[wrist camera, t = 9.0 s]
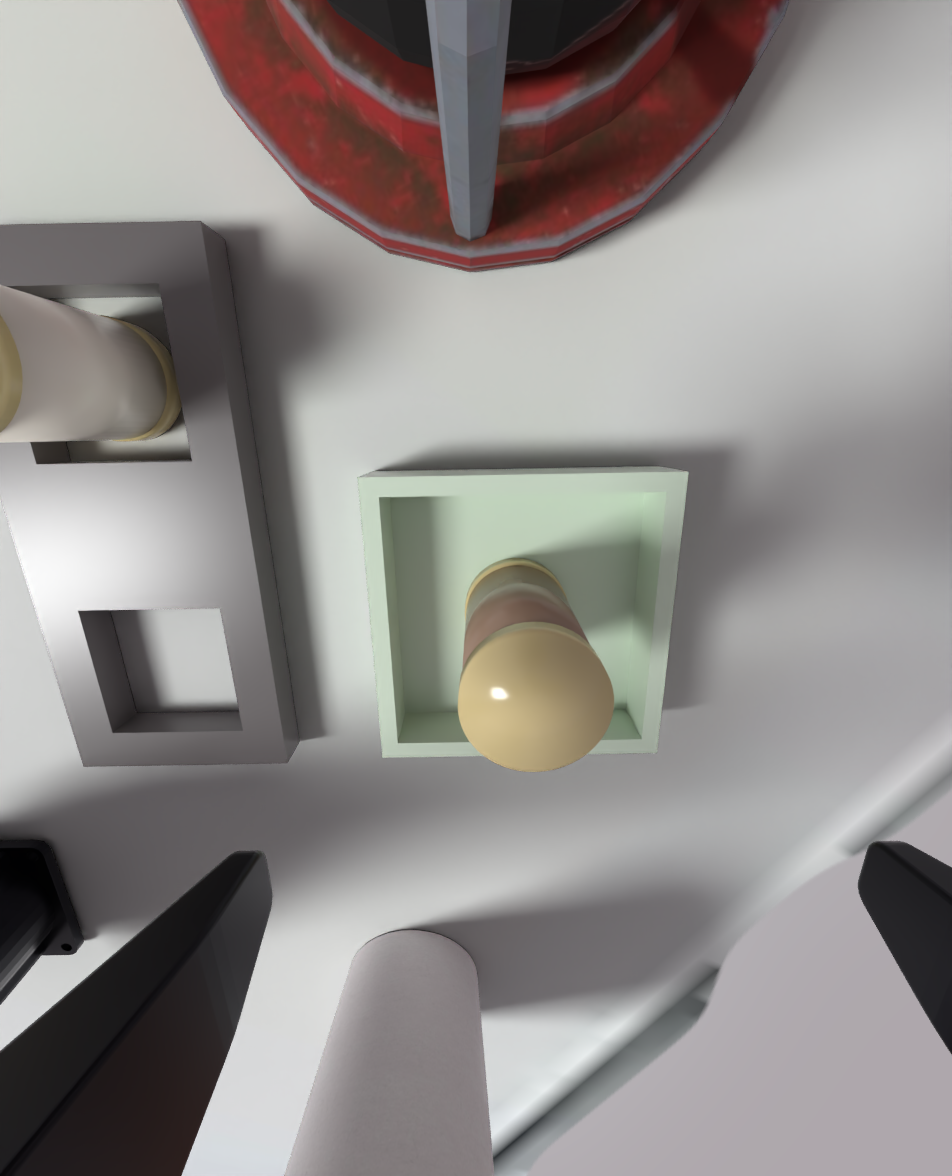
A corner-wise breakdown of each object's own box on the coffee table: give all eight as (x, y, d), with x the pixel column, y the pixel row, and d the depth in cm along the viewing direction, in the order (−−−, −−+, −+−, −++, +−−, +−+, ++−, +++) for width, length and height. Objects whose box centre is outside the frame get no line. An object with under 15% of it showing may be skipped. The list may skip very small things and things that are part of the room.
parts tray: (635, 715, 20) (656, 753, 18) (393, 719, 20) (382, 757, 18) (658, 465, 17) (688, 471, 15) (373, 471, 17) (357, 477, 15)
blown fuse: (562, 651, 19) (608, 771, 12) (466, 651, 19) (459, 772, 12) (567, 557, 18) (620, 634, 11) (464, 558, 18) (455, 635, 11)
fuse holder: (299, 741, 20) (287, 763, 19) (109, 744, 20) (83, 766, 19) (224, 239, 15) (200, 221, 14) (-35, 244, 15) (-85, 226, 14)
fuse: (192, 439, 17) (11, 444, 10) (85, 441, 17) (-164, 448, 10) (170, 319, 16) (-50, 238, 9) (55, 321, 16) (-247, 242, 9)
